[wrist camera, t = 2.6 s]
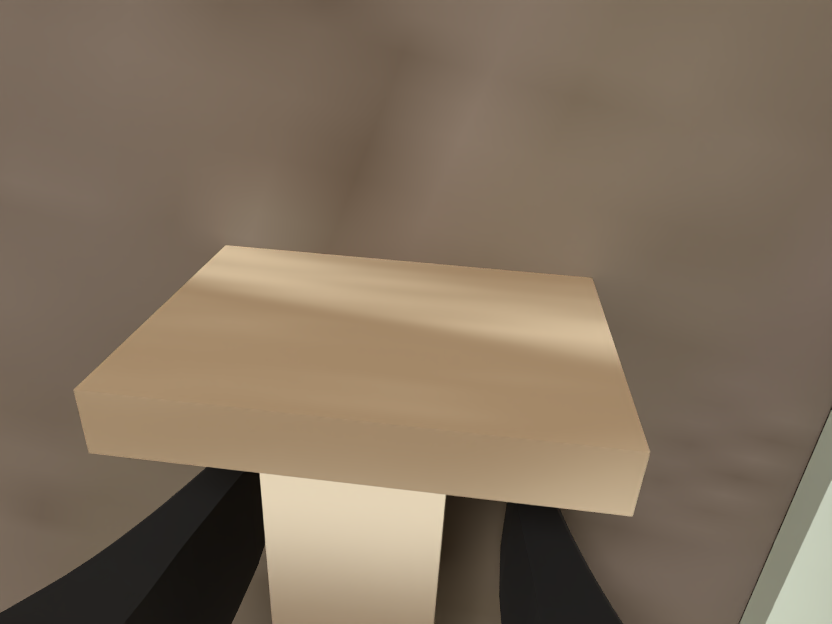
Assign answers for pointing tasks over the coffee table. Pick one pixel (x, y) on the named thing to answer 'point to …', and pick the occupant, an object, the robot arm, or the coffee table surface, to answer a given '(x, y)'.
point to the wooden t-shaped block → (374, 411)
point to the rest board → (801, 552)
